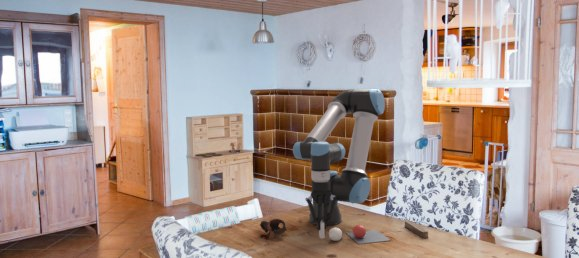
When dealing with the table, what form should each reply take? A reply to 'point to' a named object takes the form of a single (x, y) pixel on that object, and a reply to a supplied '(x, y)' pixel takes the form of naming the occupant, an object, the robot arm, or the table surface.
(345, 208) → the table surface
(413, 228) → the strip
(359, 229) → the red ball
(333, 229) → the cue ball
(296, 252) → the table surface
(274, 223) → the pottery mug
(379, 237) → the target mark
